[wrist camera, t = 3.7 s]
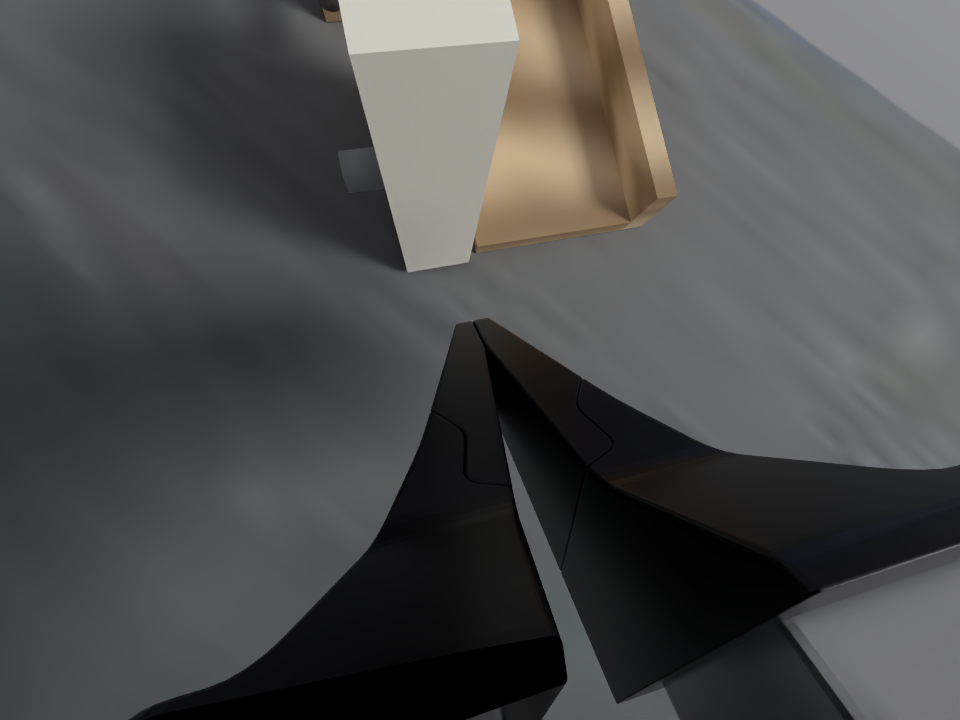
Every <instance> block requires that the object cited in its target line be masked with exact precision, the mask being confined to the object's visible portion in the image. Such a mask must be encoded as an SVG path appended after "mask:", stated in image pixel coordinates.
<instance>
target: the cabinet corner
mask: <svg viewBox="0 0 960 720" xmlns="http://www.w3.org/2000/svg"><path fill="white" fill-rule="evenodd" d="M510 1H511V5H512V10H513V14H514V18H515V23H516V27H517V31H518V36H519V40H520V41H519V45H518V50H517V54H516V58H515V63H514V67H513V72H512V76H511V80H510V85H509V89H508V93H507V98H506V102H505V107H504V111H503V115H502V120H501V124H500V128H499V133H498V137H497V141H496V146H495V150H494V155H493V159H492V163H491V168H490V172H489V176H488V181H487V185H486V190H485V194H484V198H483V203H482V207H481V211H480V216H479V220H478V224H477V229H476V233H475V238H474V246H475V251H476V253H480V252H486V251H492V250H498V249H505V248H511V247H517V246H523V245H529V244H536V243H542V242H548V241H554V240H560V239H566V238H573V237H579V236H585V235H591V234H597V233H603V232H610V231H616V230H622V229H628V228H634V227H640V226H641V225H643V224H644V223H645V222H646V221H647V220H649V219H650V218H651V217H652V216H654V215H655V214H656V213H657V212H658V211H660V210H661V209H662V208H663V207H665V206H666V205H667V204H668V203H670V202H671V201H672V200H673V199H674V198H676V197H677V196H678V194H677V190H676V187H675V183H674V179H673V175H672V171H671V167H670V163H669V159H668V155H667V151H666V147H665V143H664V139H663V135H662V131H661V127H660V124H659V120H658V116H657V112H656V108H655V104H654V100H653V96H652V92H651V88H650V84H649V80H648V76H647V72H646V68H645V64H644V61H643V57H642V53H641V49H640V45H639V41H638V37H637V33H636V29H635V25H634V21H633V17H632V13H631V9H630V5H629V1H628V0H510ZM318 2H319V4H320V5H321V7H322V8H323V12H324V15H325V18H326V21H327V22H336V21H342V16H341V11H340V6H339V1H338V0H318Z"/></svg>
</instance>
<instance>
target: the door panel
mask: <svg viewBox="0 0 960 720" xmlns="http://www.w3.org/2000/svg"><path fill="white" fill-rule="evenodd" d="M338 1H339V6H340V11H341V16H342V21H343V26H344V32H345V37H346V42H347V47H348V52H349V56H350V60H351V64H352V67H353V71H354V75H355V78H356V82H357V86H358V90H359V93H360V97H361V101H362V104H363V108H364V112H365V116H366V119H367V123H368V127H369V131H370V134H371V138H372V142H373V145H374V147H367V148H358V149H350V150H341V151H338V158H339V163H340V167H341V171H342V175H343V179H344V182H345V185H346V188H347V190H348V192H349V194H351V193H359V192H366V191H374V190H381V189H385V190H386V194H387V197H388V201H389V205H390V209H391V212H392V216H393V220H394V223H395V227H396V231H397V235H398V238H399V242H400V246H401V249H402V253H403V257H404V261H405V264H406V268H407V272H413V271H419V270H425V269H431V268H437V267H443V266H449V265H455V264H461V263H467V262H469V259H470V255H471V251H472V246H473V242H474V238H475V233H476V229H477V224H478V220H479V216H480V211H481V207H482V203H483V198H484V194H485V190H486V185H487V181H488V176H489V172H490V168H491V163H492V159H493V155H494V150H495V146H496V141H497V137H498V133H499V128H500V124H501V120H502V115H503V111H504V107H505V102H506V98H507V93H508V89H509V85H510V80H511V76H512V72H513V67H514V63H515V58H516V54H517V50H518V45H519V41H520V40H519V36H518V31H517V27H516V23H515V18H514V14H513V10H512V5H511V1H510V0H338Z"/></svg>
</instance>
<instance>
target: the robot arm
mask: <svg viewBox="0 0 960 720" xmlns="http://www.w3.org/2000/svg"><path fill="white" fill-rule="evenodd" d="M502 434H503V436H504V439H505V441H506V443H507V446H508V448H509V450H510V453H511V455H512V458H513V460H514V462H515V465H516V467H517V469H518V472H519V474H520V476H521V479H522V481H523V484H524V486H525V488H526V491H527V493H528V495H529V498H530V500H531V502H532V505H533V507H534V510H535V512H536V514H537V517H538V519H539V521H540V524H541V526H542V528H543V531H544V533H545V536H546V538H547V540H548V543H549V545H550V547H551V550H552V552H553V554H554V557H555V559H556V562H557V564H558V566H559V569H560V570H561V571H562V572H561V574H562V576H563V578H564V581H565V583H566V585H567V588H568V590H569V593H570V595H571V597H572V600H573V602H574V604H575V607H576V609H577V611H578V614H579V616H580V618H581V621H582V623H583V626H584V628H585V630H586V633H587V635H588V637H589V640H590V642H591V644H592V647H593V649H594V652H595V654H596V656H597V659H598V661H599V663H600V666H601V668H602V670H603V673H604V675H605V678H606V680H607V682H608V685H609V687H610V689H611V692H612V694H613V696H614V698H615V701H616V703H617V704H619V703H621V702H624V701H627V700H630V699H633V698H636V697H639V696H641V695H644V694H647V693H650V692H653V691H656V690H658V689H661V688H665V690H666V692H667V694H668V696H669V698H670V701H671V703H672V705H673V707H674V709H675V711H676V713H677V716H678V718H679V720H960V465H958V466H954V467H949V468H943V469H928V470H911V469H889V468H876V467H865V466H855V465H845V464H834V463H824V462H814V461H803V460H793V459H783V458H772V457H762V456H752V455H742V454H735V453H731V452H726V451H722V450H719V449H716V448H713V447H710V446H708V445H705V444H703V443H701V442H699V441H697V440H694V439H692V438H690V437H689V436H687V435H685V434H683V433H681V432H679V431H677V430H675V429H673V428H671V427H669V426H667V425H665V424H663V423H661V422H659V421H657V420H656V419H654V418H652V417H650V416H648V415H646V414H644V413H642V412H640V411H638V410H636V409H634V408H632V407H631V406H629V405H627V404H625V403H623V402H621V401H620V400H618V399H616V398H614V397H613V396H611V395H609V394H608V393H606V392H604V391H603V390H601V389H599V388H598V387H596V386H594V385H593V384H591V383H590V382H588V381H587V380H585V379H582V378H581V377H580V376H579V375H577V374H575V373H574V372H572V371H571V370H569V369H568V368H566V367H564V366H563V365H561V364H560V363H558V362H557V361H555V360H554V359H552V358H550V357H549V356H547V355H546V354H544V353H543V352H541V351H539V350H538V349H536V348H535V347H533V346H532V345H530V344H529V343H527V342H525V341H524V340H522V339H521V338H519V337H518V336H516V335H514V334H513V333H511V332H510V331H508V330H507V329H505V328H503V327H502V326H500V325H499V324H497V323H496V322H494V321H493V320H491V319H489V318H484V319H479V320H475V321H473V323H472V322H471V321H468V322H463V323H458V324H456V326H455V330H454V333H453V337H452V340H451V343H450V347H449V350H448V354H447V357H446V360H445V364H444V367H443V371H442V374H441V378H440V381H439V384H438V388H437V391H436V395H435V398H434V401H433V405H432V408H431V413H430V414H429V418H428V421H427V425H426V428H425V431H424V434H423V437H422V440H421V442H420V445H419V447H418V450H417V452H416V455H415V457H414V459H413V462H412V464H411V466H410V468H409V470H408V473H407V475H406V477H405V479H404V481H403V483H402V485H401V488H400V490H399V492H398V494H397V496H396V498H395V500H394V503H393V505H392V507H391V509H390V511H389V513H388V516H387V518H386V520H385V522H384V524H383V526H382V528H381V530H380V531H379V533H378V535H377V537H376V538H375V540H374V541H373V543H372V544H371V546H370V547H369V548H368V550H367V551H366V552H365V553H364V554H363V556H362V557H361V558H360V559H359V560H358V561H357V562H356V563H355V564H354V565H353V566H352V567H351V568H350V569H349V570H348V571H347V572H346V573H345V574H344V575H343V576H342V577H341V578H340V579H339V580H338V581H337V583H336V584H335V585H334V586H333V587H332V588H331V589H330V590H329V591H328V592H327V593H326V594H325V595H324V596H323V597H322V598H321V599H320V600H319V601H318V602H317V603H316V604H315V605H314V606H313V607H312V608H311V609H310V610H309V611H308V612H307V613H306V614H305V615H304V617H303V618H302V619H301V620H300V621H299V622H298V623H297V624H296V625H295V626H294V627H293V628H292V629H291V630H290V631H289V632H288V633H287V634H286V635H285V636H284V637H283V638H282V639H281V640H280V641H279V642H278V643H277V644H276V645H275V646H274V647H273V648H271V649H270V650H269V651H268V652H267V653H266V654H265V655H264V656H262V657H261V658H260V659H258V660H257V661H255V662H254V663H253V664H251V665H250V666H249V667H247V668H246V669H244V670H243V671H241V672H239V673H238V674H236V675H234V676H232V677H231V678H229V679H227V680H226V681H223V682H221V683H218V684H216V685H213V686H211V687H208V688H206V689H202V690H199V691H195V692H192V693H189V694H185V695H182V696H179V697H175V698H172V699H169V700H166V701H163V702H161V703H158V704H155V705H153V706H151V707H149V708H147V709H144V710H142V711H141V712H139V713H138V714H136V715H135V716H133V717H132V718H131V719H129V720H542V718H543V717H544V715H545V714H546V712H547V711H548V709H549V708H550V706H551V705H552V703H553V702H554V700H555V699H556V697H557V696H558V694H559V693H560V691H561V690H562V688H563V687H564V685H565V684H566V682H567V672H566V664H565V657H564V649H563V644H562V641H561V638H560V635H559V632H558V629H557V626H556V623H555V620H554V617H553V615H552V612H551V609H550V606H549V603H548V600H547V597H546V594H545V591H544V588H543V586H542V583H541V580H540V577H539V574H538V571H537V568H536V565H535V562H534V560H533V557H532V554H531V551H530V548H529V545H528V542H527V539H526V536H525V534H524V531H523V528H522V525H521V522H520V519H519V516H518V512H517V507H516V503H515V499H514V494H513V490H512V484H511V478H510V473H509V468H508V463H507V458H506V453H505V448H504V442H503V437H502Z"/></svg>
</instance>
